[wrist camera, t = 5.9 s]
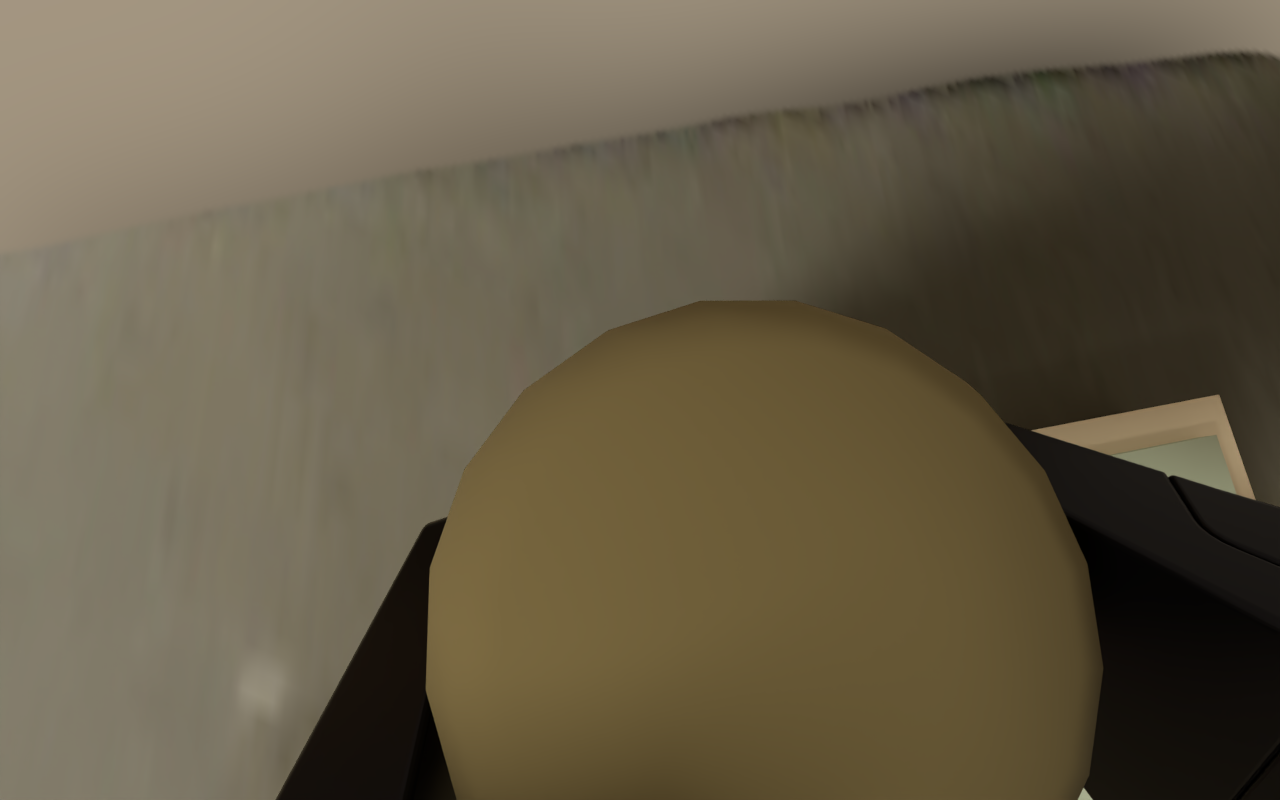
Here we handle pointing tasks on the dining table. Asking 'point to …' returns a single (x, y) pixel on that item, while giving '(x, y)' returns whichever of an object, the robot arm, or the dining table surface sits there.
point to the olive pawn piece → (759, 579)
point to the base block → (1167, 445)
